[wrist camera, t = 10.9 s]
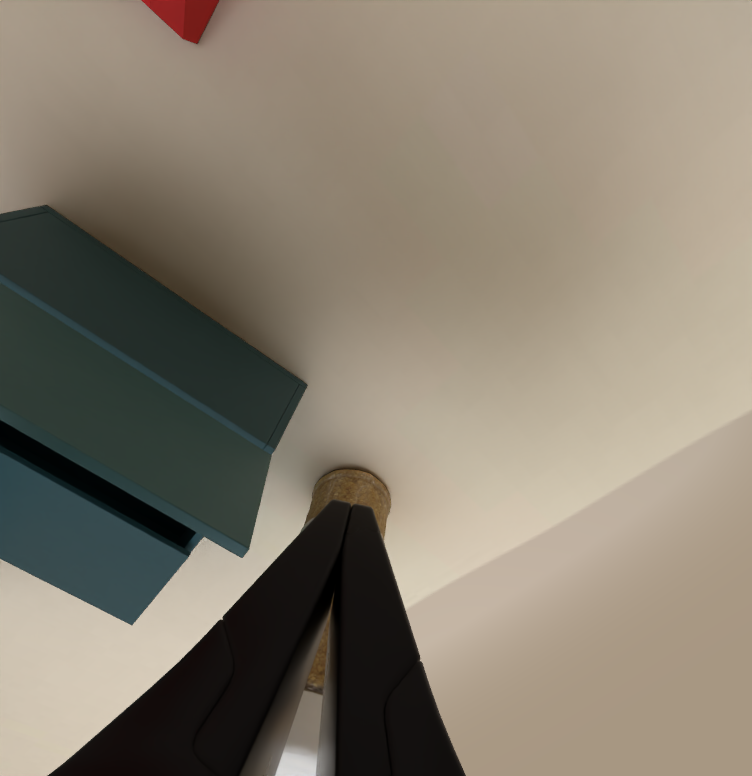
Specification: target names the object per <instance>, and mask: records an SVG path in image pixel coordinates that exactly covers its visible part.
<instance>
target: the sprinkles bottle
mask: <svg viewBox="0 0 752 776" xmlns="http://www.w3.org/2000/svg"><path fill="white" fill-rule="evenodd" d="M333 499H336V500H341V501H346V502H350V503H351V507H352V505H353V504H361V505H366V506H370V507H372V509H373V510H374V513H375V517H376V520H377V523H378V526H379V529H380V532H381V535H382V539H383V542H384V536H385V528H386V520H387V517H388V515H389V512H390V508H391V499H390V496H389V493H388V491H387V489H386V488H385V486H384V485H383V484H382V483H381V482H380V481H379V480H377V479H376V478H375V477H374V476H372V475H371V474H369V473H366V472H362V471H360V470H348V469H342V470H336V471H333V472H330V473H329V474H327V475H325V476H323V478H321V479H320V480H319V481H318V482H317V484H316V485H315V487H314V490H313V493H312V502H311V505H310V510H309V512H308V515H307V518H306V521H305V524H304V527H303V528H302V530H301V532H302V531H303V530H304V529H305V528H306V527H307V525H308V524H309V523H310V522H311V521H312V520H313V519H314V518H315V517H316V516H317V515H318V514H319V513H320V511H321V510H322V509H323V508H324V507H325V506H326V505H327V504H328V503H329V502H330V501H331V500H333ZM301 532H300V533H301ZM384 545H385V543H384ZM333 597H334V596H333ZM332 602H333V601H332ZM331 608H332V605H331ZM330 613H331V609H330ZM330 613H329V617H328V620H327V623H326V626H325V629H324V632H323V635H322V638H321V641H320V644H319V647H318V650H317V653H316V656H315V659H314V662H313V665H312V668H311V671H310V674H309V677H308V680H307V683H306V686H305V689H304V691H303V694H302V697H301V700H300V703H299V706H298V709H297V712H296V715H295V718H294V721H293V724H292V727H291V730H290V733H289V736H288V739H287V742H286V745H285V748H284V751H283V754H282V757H281V760H280V763H279V765H278V768H277V771H276V774H275V776H316V766H317V755H318V743H319V732H320V721H321V710H322V699H323V687H324V676H325V665H326V654H327V642H328V631H329V622H330Z"/></svg>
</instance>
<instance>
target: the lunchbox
mask: <svg viewBox="0 0 752 776" xmlns="http://www.w3.org/2000/svg"><path fill="white" fill-rule="evenodd" d="M0 283H2V284H3V285H5V286H7V287H8V288H10V289H11V290H13V291H14V292H16V293H18V294H19V295H21V296H22V297H24V298H25V299H27V300H29V301H30V302H32V303H33V304H35V305H36V306H38V307H40V308H41V309H43V310H44V311H46V312H47V313H49V314H51V315H52V316H54V317H55V318H57V319H58V320H60V321H62V322H63V323H65V324H66V325H68V326H69V327H71V328H73V329H74V330H76V331H77V332H79V333H80V334H82V335H84V336H85V337H87V338H88V339H90V340H91V341H93V342H95V343H96V344H98V345H99V346H101V347H102V348H104V349H105V350H107V351H109V352H110V353H112V354H113V355H115V356H116V357H118V358H120V359H121V360H123V361H124V362H126V363H127V364H129V365H131V366H132V367H134V368H135V369H137V370H138V371H140V372H142V373H143V374H145V375H146V376H148V377H149V378H151V379H153V380H154V381H156V382H157V383H159V384H160V385H162V386H164V387H165V388H167V389H168V390H170V391H171V392H173V393H175V394H176V395H178V396H179V397H181V398H182V399H184V400H186V401H187V402H189V403H190V404H192V405H193V406H195V407H197V408H198V409H200V410H201V411H203V412H204V413H206V414H208V415H209V416H211V417H212V418H214V419H215V420H217V421H219V422H220V423H222V424H223V425H225V426H226V427H228V428H230V429H231V430H233V431H234V432H236V433H237V434H239V435H241V436H242V437H244V438H245V439H247V440H248V441H250V442H252V443H253V444H255V445H256V446H258V447H259V448H261V449H263V450H264V451H266V452H267V453H269V454H270V455H271V454H272V453H273V452H274V451H275V449H276V447H277V445H278V443H279V441H280V439H281V437H282V435H283V433H284V431H285V429H286V427H287V425H288V423H289V421H290V419H291V417H292V415H293V413H294V411H295V409H296V407H297V405H298V403H299V401H300V400H301V398H302V396H303V394H304V392H305V389H306V388H307V384H306V383H304V382H303V381H301V380H300V379H298V378H297V377H295V376H294V375H293V374H291V373H290V372H288V371H287V370H285V369H284V368H282V367H281V366H279V365H278V364H277V363H275V362H274V361H272V360H271V359H269V358H268V357H266V356H265V355H263V354H262V353H261V352H259V351H258V350H256V349H255V348H253V347H252V346H250V345H249V344H248V343H246V342H245V341H243V340H242V339H240V338H239V337H237V336H236V335H234V334H233V333H232V332H230V331H229V330H227V329H226V328H224V327H223V326H221V325H220V324H218V323H217V322H216V321H214V320H213V319H211V318H210V317H208V316H207V315H205V314H204V313H203V312H201V311H200V310H198V309H197V308H195V307H194V306H192V305H191V304H189V303H188V302H187V301H185V300H184V299H182V298H181V297H179V296H178V295H176V294H175V293H173V292H172V291H171V290H169V289H168V288H166V287H165V286H163V285H162V284H160V283H159V282H158V281H156V280H155V279H153V278H152V277H150V276H149V275H147V274H146V273H144V272H143V271H142V270H140V269H139V268H137V267H136V266H134V265H133V264H131V263H130V262H128V261H127V260H126V259H124V258H123V257H121V256H120V255H118V254H117V253H115V252H114V251H112V250H111V249H110V248H108V247H107V246H105V245H104V244H102V243H101V242H99V241H98V240H97V239H95V238H94V237H92V236H91V235H89V234H88V233H86V232H85V231H83V230H82V229H81V228H79V227H78V226H76V225H75V224H73V223H72V222H70V221H69V220H67V219H66V218H65V217H63V216H62V215H60V214H59V213H57V212H56V211H54V210H53V209H52V208H50V207H49V206H47V205H43V206H40V207H39V206H38V207H33V208H28V209H23V210H18V211H13V212H8V213H3V214H0ZM203 537H204V536H202V535H201V534H199V533H197V532H195V531H194V530H192V529H190V528H188V527H187V526H185V525H183V524H181V523H180V522H178V521H176V520H174V519H173V518H171V517H169V516H167V515H166V514H164V513H162V512H160V511H159V510H157V509H155V508H153V507H152V506H150V505H148V504H146V503H145V502H143V501H141V500H139V499H138V498H136V497H134V496H132V495H131V494H129V493H127V492H125V491H124V490H122V489H120V488H118V487H117V486H115V485H113V484H111V483H110V482H108V481H106V480H104V479H103V478H101V477H99V476H97V475H96V474H94V473H92V472H90V471H89V470H87V469H85V468H83V467H82V466H80V465H78V464H76V463H75V462H73V461H71V460H69V459H68V458H66V457H64V456H62V455H61V454H59V453H57V452H55V451H54V450H52V449H50V448H48V447H47V446H45V445H43V444H41V443H40V442H38V441H36V440H34V439H33V438H31V437H29V436H27V435H26V434H24V433H22V432H20V431H19V430H17V429H15V428H13V427H12V426H10V425H8V424H6V423H5V422H3V421H1V420H0V559H2V560H4V561H6V562H8V563H10V564H12V565H14V566H16V567H18V568H20V569H22V570H23V571H25V572H27V573H29V574H31V575H33V576H35V577H37V578H39V579H41V580H43V581H45V582H47V583H49V584H51V585H53V586H55V587H57V588H59V589H61V590H63V591H65V592H67V593H69V594H71V595H73V596H75V597H77V598H79V599H81V600H83V601H85V602H87V603H89V604H91V605H93V606H95V607H97V608H99V609H101V610H103V611H105V612H107V613H109V614H110V615H112V616H114V617H116V618H118V619H120V620H122V621H124V622H126V623H128V624H130V625H133V624H134V622H135V621H136V620H137V619H138V618H139V616H140V615H141V614H142V613H143V611H144V610H145V609H146V608H147V607H148V605H149V604H150V603H151V602H152V601H153V599H154V598H155V597H156V596H157V595H158V593H159V592H160V591H161V590H162V588H163V587H164V586H165V585H166V584H167V582H168V581H169V580H170V579H171V578H172V576H173V575H174V574H175V573H176V572H177V570H178V569H179V568H180V567H181V565H182V564H183V563H184V562H185V561H186V559H187V558H188V557H189V555H190V554H191V551H192V550H193V549H194V548H195V547H196V545H197V544H198V543H199V542H200V541H201V539H202V538H203Z"/></svg>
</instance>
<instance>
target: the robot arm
mask: <svg viewBox="0 0 752 776" xmlns="http://www.w3.org/2000/svg"><path fill="white" fill-rule="evenodd" d="M333 596H334V597H333ZM332 601H333V602H332ZM331 605H332V608H331ZM330 609H331V613H330ZM329 613H330V622H329V631H328V642H327V654H326V665H325V676H324V687H323V699H322V710H321V721H320V732H319V743H318V755H317V766H316V776H466V775H465V773H464V771H463V768H462V766H461V764H460V762H459V759H458V757H457V755H456V752H455V750H454V748H453V745H452V743H451V741H450V738H449V736H448V733H447V731H446V728H445V726H444V724H443V721H442V719H441V716H440V714H439V711H438V708H437V705H436V702H435V699H434V696H433V694H432V691H431V688H430V685H429V682H428V679H427V676H426V673H425V670H424V667H423V663H422V662H421V661H420V655H419V652H418V648H417V645H416V642H415V639H414V636H413V633H412V630H411V626H410V623H409V620H408V617H407V614H406V611H405V608H404V604H403V601H402V598H401V595H400V592H399V589H398V586H397V582H396V579H395V576H394V573H393V570H392V567H391V564H390V560H389V557H388V554H387V551H386V548H385V545H384V542H383V539H382V535H381V532H380V529H379V526H378V523H377V520H376V517H375V513H374V510H373V509H372V507H370V506H366V505H361V504H353V505H352V507H351V503H350V502H346V501H341V500H336V499H333V500H331V501H330V502H329V503H328V504H327V505H326V506H325V507H324V508H323V509H322V510H321V511H320V513H319V514H318V515H317V516H316V517H315V518H314V519H313V520H312V521H311V522H310V523H309V524H308V525H307V527H306V528H305V529H304V530H303V531H302V532H301V533H300V534H299V535H298V536H297V537H296V538H295V539H294V540H293V542H292V543H291V544H290V545H289V546H288V547H287V548H286V549H285V550H284V551H283V552H282V553H281V554H280V556H279V557H278V558H277V559H276V560H275V561H274V562H273V563H272V564H271V565H270V566H269V567H268V568H267V570H266V571H265V572H264V573H263V574H262V575H261V576H260V577H259V578H258V579H257V580H256V581H255V582H254V584H253V585H252V586H251V587H250V588H249V589H248V590H247V591H246V592H245V593H244V594H243V595H242V596H241V597H240V599H239V600H238V601H237V602H236V603H235V604H234V605H233V606H232V607H231V608H230V609H229V610H228V611H227V613H226V614H225V615H224V616H223V620H219V621H218V622H217V623H216V624H215V625H214V626H213V627H212V628H211V629H210V631H209V632H208V633H207V634H206V635H205V636H204V637H203V638H202V639H201V640H200V641H199V642H198V643H197V644H196V645H195V646H194V647H193V648H192V649H191V650H190V651H189V652H188V653H187V654H186V655H185V656H184V657H183V658H182V659H181V660H180V661H179V662H178V663H177V664H176V665H175V666H174V667H173V668H172V669H171V670H169V671H168V672H167V673H166V674H165V675H164V676H163V677H162V678H161V679H160V680H159V681H157V682H156V683H155V684H154V685H153V686H152V687H151V688H150V689H149V690H147V691H146V692H145V693H144V694H143V695H142V696H141V697H139V698H138V699H137V700H136V701H135V702H134V703H133V704H131V705H130V706H129V707H128V708H127V709H126V710H124V711H123V712H122V713H121V714H120V715H119V716H118V717H116V718H115V719H114V720H113V721H112V722H111V723H110V724H108V725H107V726H106V727H105V728H104V729H103V730H102V731H100V732H99V733H98V734H97V735H96V736H95V737H94V738H92V739H91V740H90V741H89V742H88V743H87V744H85V745H84V746H83V747H82V748H81V749H80V750H79V751H77V752H76V753H75V754H74V755H73V756H72V757H70V758H69V759H68V760H67V761H66V762H64V763H63V764H62V765H61V766H60V767H58V768H57V769H56V770H54V771H53V772H52V773H51V774H49V775H48V776H275V774H276V771H277V768H278V765H279V763H280V760H281V757H282V754H283V751H284V748H285V745H286V742H287V739H288V736H289V733H290V730H291V727H292V724H293V721H294V718H295V715H296V712H297V709H298V706H299V703H300V700H301V697H302V694H303V691H304V689H305V686H306V683H307V680H308V677H309V674H310V671H311V668H312V665H313V662H314V659H315V656H316V653H317V650H318V647H319V644H320V641H321V638H322V635H323V632H324V629H325V626H326V623H327V620H328V617H329Z"/></svg>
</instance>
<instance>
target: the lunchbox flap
mask: <svg viewBox="0 0 752 776" xmlns="http://www.w3.org/2000/svg"><path fill="white" fill-rule="evenodd" d="M0 420H1V421H3V422H5V423H6V424H8V425H10V426H12V427H13V428H15V429H17V430H19V431H20V432H22V433H24V434H26V435H27V436H29V437H31V438H33V439H34V440H36V441H38V442H40V443H41V444H43V445H45V446H47V447H48V448H50V449H52V450H54V451H55V452H57V453H59V454H61V455H62V456H64V457H66V458H68V459H69V460H71V461H73V462H75V463H76V464H78V465H80V466H82V467H83V468H85V469H87V470H89V471H90V472H92V473H94V474H96V475H97V476H99V477H101V478H103V479H104V480H106V481H108V482H110V483H111V484H113V485H115V486H117V487H118V488H120V489H122V490H124V491H125V492H127V493H129V494H131V495H132V496H134V497H136V498H138V499H139V500H141V501H143V502H145V503H146V504H148V505H150V506H152V507H153V508H155V509H157V510H159V511H160V512H162V513H164V514H166V515H167V516H169V517H171V518H173V519H174V520H176V521H178V522H180V523H181V524H183V525H185V526H187V527H188V528H190V529H192V530H194V531H195V532H197V533H199V534H201V535H202V536H204V537H206V538H208V539H209V540H211V541H213V542H215V543H216V544H218V545H220V546H222V547H223V548H225V549H227V550H229V551H230V552H232V553H234V554H236V555H237V556H239V557H241V558H243V557H244V555H245V554H246V553H247V551H248V550H249V547H250V543H251V539H252V535H253V530H254V526H255V522H256V518H257V514H258V510H259V506H260V501H261V497H262V493H263V489H264V485H265V481H266V476H267V472H268V468H269V464H270V460H271V455H270V454H269V453H267V452H266V451H264V450H263V449H261V448H259V447H258V446H256V445H255V444H253V443H252V442H250V441H248V440H247V439H245V438H244V437H242V436H241V435H239V434H237V433H236V432H234V431H233V430H231V429H230V428H228V427H226V426H225V425H223V424H222V423H220V422H219V421H217V420H215V419H214V418H212V417H211V416H209V415H208V414H206V413H204V412H203V411H201V410H200V409H198V408H197V407H195V406H193V405H192V404H190V403H189V402H187V401H186V400H184V399H182V398H181V397H179V396H178V395H176V394H175V393H173V392H171V391H170V390H168V389H167V388H165V387H164V386H162V385H160V384H159V383H157V382H156V381H154V380H153V379H151V378H149V377H148V376H146V375H145V374H143V373H142V372H140V371H138V370H137V369H135V368H134V367H132V366H131V365H129V364H127V363H126V362H124V361H123V360H121V359H120V358H118V357H116V356H115V355H113V354H112V353H110V352H109V351H107V350H105V349H104V348H102V347H101V346H99V345H98V344H96V343H95V342H93V341H91V340H90V339H88V338H87V337H85V336H84V335H82V334H80V333H79V332H77V331H76V330H74V329H73V328H71V327H69V326H68V325H66V324H65V323H63V322H62V321H60V320H58V319H57V318H55V317H54V316H52V315H51V314H49V313H47V312H46V311H44V310H43V309H41V308H40V307H38V306H36V305H35V304H33V303H32V302H30V301H29V300H27V299H25V298H24V297H22V296H21V295H19V294H18V293H16V292H14V291H13V290H11V289H10V288H8V287H7V286H5V285H3V284H2V283H0Z"/></svg>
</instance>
